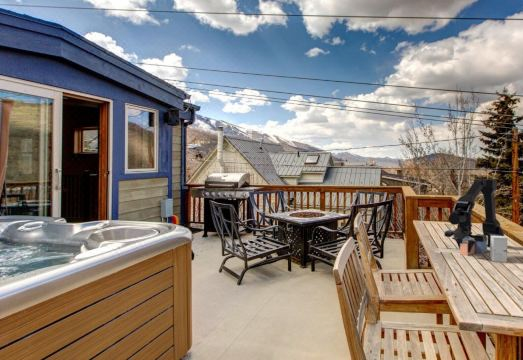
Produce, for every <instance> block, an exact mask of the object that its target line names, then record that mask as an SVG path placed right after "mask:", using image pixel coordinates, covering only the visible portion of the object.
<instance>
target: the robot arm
mask: <svg viewBox="0 0 523 360" xmlns="http://www.w3.org/2000/svg"><path fill="white" fill-rule="evenodd" d="M498 185H499V184H498V181H497V180H496V179H495V178H475V179H473V183H472V184H471V185H470V187H469V188H468V190H467V192H466V193H465V194H464V195H462V196H460V197H459V198H458V199H457V200H456V202H455V204H454V206H453V209H452V213H450V214H449V216H448V222H449V223H450V224H451V225H456V226H457V227H456V228H455V229H454V230H451V229H448V230H445V231H444V235H443V236H444V237H447V238H452V240H454V241H455V242H456V244H457V247H458V248H459V250H460V243H462V239H464V238H470V240H468V253H470V251H471V249H472V247H473V245H474V243H475V242H476V241H479V242H484V241H487V248H490V236H491V235H492V236H505V232H504V230H503V228H502V227H501V223H500V221H498V218H497V215H496V214H497V213H496V204H495V193H496V192H497V190H498ZM480 193H481V195H483V204H484V206H483V207H484V214H485V215H484V217H485V220H484V221H483V222H482V223H481V225H482V229H481V230H482V233H483V234H481V233H477V234H473V231H472V227H473V224H472V215H473V214H474V212H473V209H474V208H475V205H476V203H475V199H477V196H479V194H480Z"/></svg>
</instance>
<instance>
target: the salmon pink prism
mask: <svg viewBox="0 0 523 360" xmlns="http://www.w3.org/2000/svg"><path fill="white" fill-rule="evenodd" d="M459 251H460V252H459V254H460V255H462V256H466V257H467V256H468V257H469V256H471V255H473V254H477V253H476V242H475V243H474V245H473V247H472V249H471V251H470V253H468V241H465V242H463V243H460V249H459ZM460 255H459V256H460Z"/></svg>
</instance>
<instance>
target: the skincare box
mask: <svg viewBox="0 0 523 360" xmlns="http://www.w3.org/2000/svg"><path fill="white" fill-rule="evenodd" d="M489 260H490V261H492V262H500V263H501V262H502V263H507V262H508V237H507V236H505V235H504V236H492V235H491V236H490V247H489Z"/></svg>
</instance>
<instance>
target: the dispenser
mask: <svg viewBox="0 0 523 360" xmlns="http://www.w3.org/2000/svg"><path fill="white" fill-rule="evenodd" d="M468 240H470V238H464V239H462V243H463V242H465V241H468ZM487 251H488V247H487V241H484V242H479V241H476V253H475V254H479V255H483V254H485V253H487Z"/></svg>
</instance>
